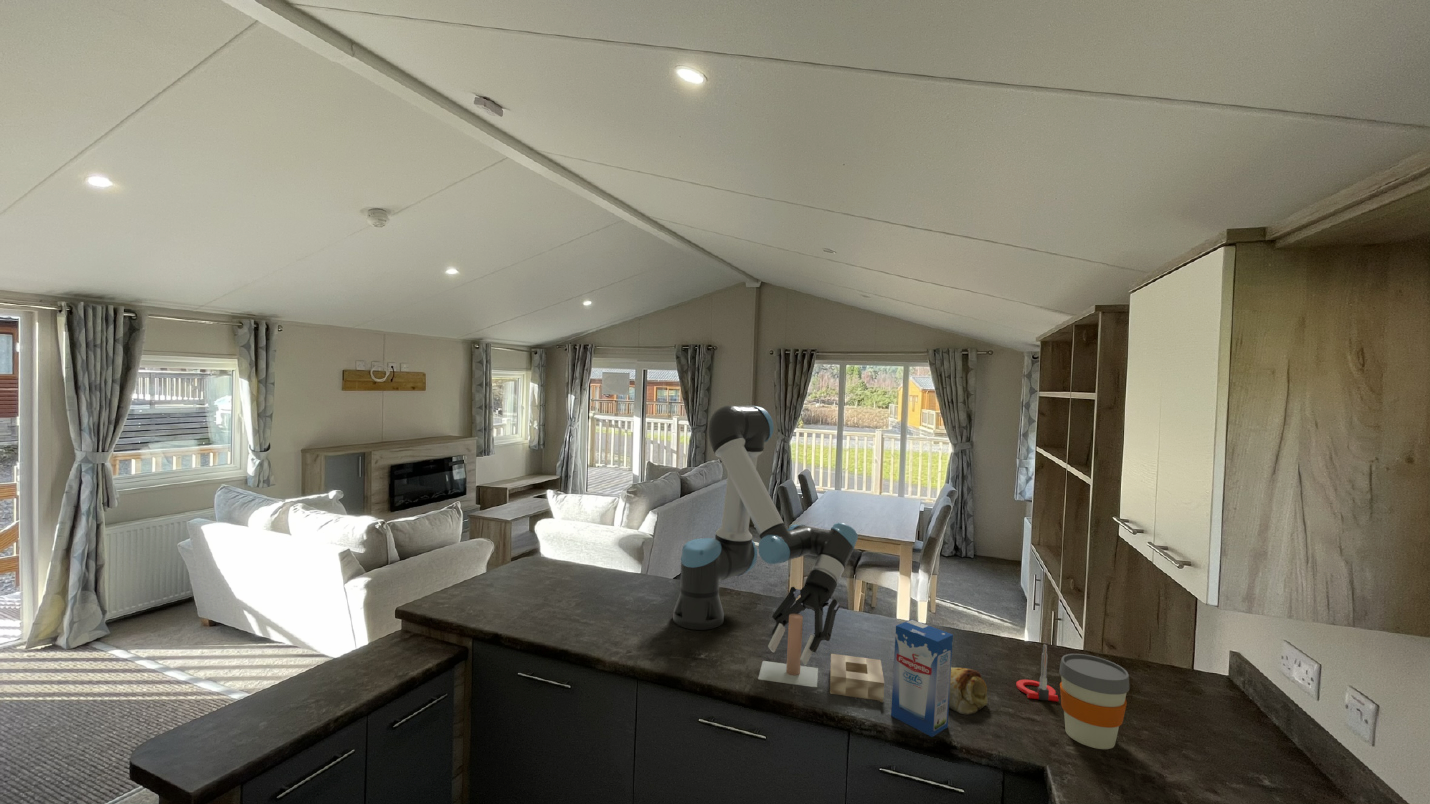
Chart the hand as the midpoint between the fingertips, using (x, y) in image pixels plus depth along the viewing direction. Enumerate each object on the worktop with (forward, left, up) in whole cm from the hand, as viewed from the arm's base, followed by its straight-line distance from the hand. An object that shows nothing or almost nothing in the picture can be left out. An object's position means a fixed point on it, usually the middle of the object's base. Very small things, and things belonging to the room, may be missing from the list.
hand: (786, 655), depth 147 cm
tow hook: (+60, +11, -6) cm, 61 cm away
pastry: (+40, +2, -6) cm, 40 cm away
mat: (+1, +2, -6) cm, 6 cm away
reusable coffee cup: (+65, -7, -6) cm, 65 cm away
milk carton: (+30, -11, -6) cm, 32 cm away
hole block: (+17, +1, -6) cm, 18 cm away
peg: (+2, +3, -5) cm, 6 cm away
